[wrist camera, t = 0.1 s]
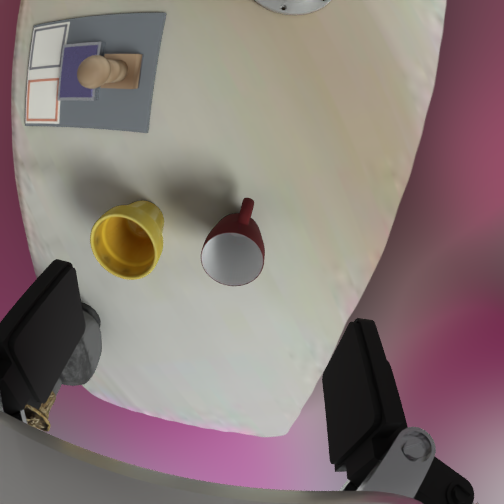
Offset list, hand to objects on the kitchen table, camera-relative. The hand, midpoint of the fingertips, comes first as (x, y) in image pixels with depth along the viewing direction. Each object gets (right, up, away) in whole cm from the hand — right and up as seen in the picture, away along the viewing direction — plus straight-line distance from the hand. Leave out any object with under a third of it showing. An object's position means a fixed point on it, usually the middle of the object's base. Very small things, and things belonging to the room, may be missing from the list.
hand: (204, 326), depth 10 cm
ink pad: (-23, +29, +27) cm, 46 cm away
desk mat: (-23, +29, +27) cm, 46 cm away
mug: (0, +8, +38) cm, 39 cm away
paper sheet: (-31, +31, +27) cm, 51 cm away
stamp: (-16, +28, +27) cm, 42 cm away
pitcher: (-34, -10, +51) cm, 62 cm away
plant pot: (-15, +8, +39) cm, 43 cm away
